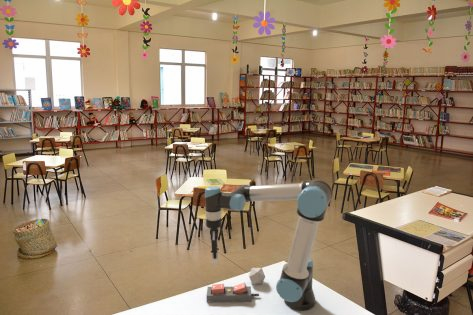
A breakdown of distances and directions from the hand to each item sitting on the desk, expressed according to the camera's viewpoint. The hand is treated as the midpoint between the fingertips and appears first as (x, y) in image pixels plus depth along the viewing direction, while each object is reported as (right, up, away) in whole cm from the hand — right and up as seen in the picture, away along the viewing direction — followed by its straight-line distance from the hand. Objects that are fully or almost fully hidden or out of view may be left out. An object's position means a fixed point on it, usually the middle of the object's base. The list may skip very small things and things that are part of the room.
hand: (215, 263), depth 184 cm
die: (+21, -15, +16) cm, 31 cm away
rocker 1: (+1, -14, +2) cm, 15 cm away
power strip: (+9, -18, +3) cm, 20 cm away
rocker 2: (+13, -14, +2) cm, 19 cm away
